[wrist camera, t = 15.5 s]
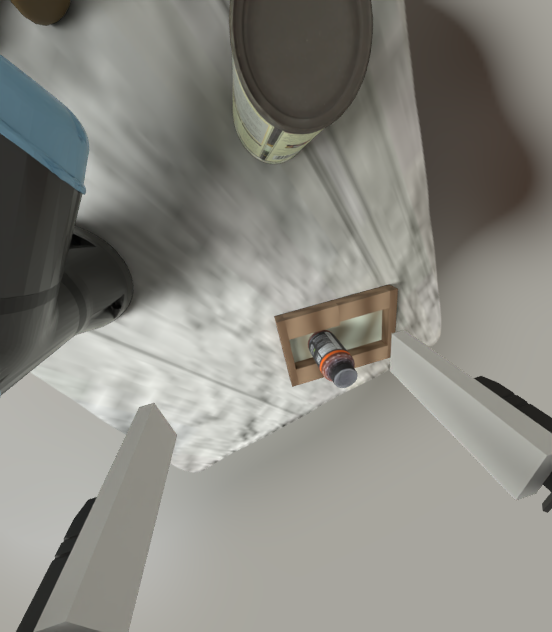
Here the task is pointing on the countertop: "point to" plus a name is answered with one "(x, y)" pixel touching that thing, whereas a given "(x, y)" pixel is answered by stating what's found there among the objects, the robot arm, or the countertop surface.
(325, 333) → the supplement bottle
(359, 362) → the brown wooden picture frame
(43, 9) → the kendama
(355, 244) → the countertop surface
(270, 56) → the coffee can
